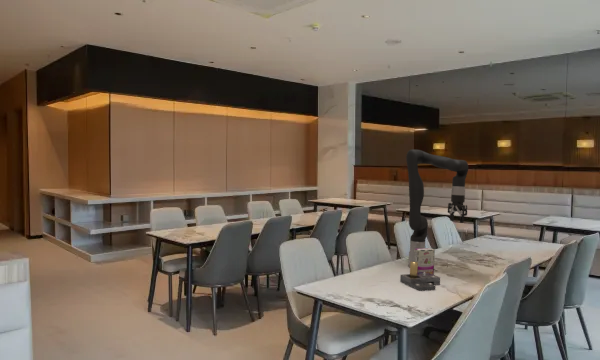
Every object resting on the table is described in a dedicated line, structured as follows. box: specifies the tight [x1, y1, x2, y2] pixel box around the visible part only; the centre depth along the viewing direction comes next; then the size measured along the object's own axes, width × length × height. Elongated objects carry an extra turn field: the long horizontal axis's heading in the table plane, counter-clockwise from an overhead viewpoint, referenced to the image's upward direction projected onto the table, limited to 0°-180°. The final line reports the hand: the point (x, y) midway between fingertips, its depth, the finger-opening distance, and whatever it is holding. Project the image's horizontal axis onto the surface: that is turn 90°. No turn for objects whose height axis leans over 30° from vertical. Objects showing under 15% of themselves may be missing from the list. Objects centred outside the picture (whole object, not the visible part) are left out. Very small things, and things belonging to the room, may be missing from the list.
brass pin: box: [409, 261, 418, 278], centre depth 244 cm, size 4×4×12 cm
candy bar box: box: [414, 247, 436, 275], centre depth 260 cm, size 11×5×16 cm, turn 105°
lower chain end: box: [399, 277, 436, 292], centre depth 240 cm, size 18×10×3 cm, turn 20°
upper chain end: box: [399, 272, 441, 286], centre depth 246 cm, size 10×19×5 cm, turn 110°
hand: (456, 221), depth 259 cm, fingers open, 8 cm apart
